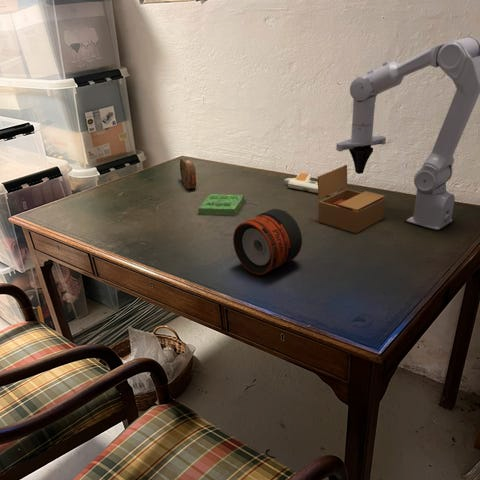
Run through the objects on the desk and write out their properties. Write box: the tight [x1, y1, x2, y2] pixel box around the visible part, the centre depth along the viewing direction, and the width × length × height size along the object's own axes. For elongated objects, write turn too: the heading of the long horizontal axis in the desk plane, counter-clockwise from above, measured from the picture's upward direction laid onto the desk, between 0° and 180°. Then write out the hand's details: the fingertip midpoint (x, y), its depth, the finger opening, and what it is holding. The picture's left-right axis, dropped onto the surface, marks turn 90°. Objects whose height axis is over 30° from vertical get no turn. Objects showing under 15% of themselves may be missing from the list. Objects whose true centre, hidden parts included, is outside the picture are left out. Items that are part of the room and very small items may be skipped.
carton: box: [317, 188, 386, 234], centre depth 141 cm, size 13×13×7 cm
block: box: [333, 199, 352, 210], centre depth 144 cm, size 4×4×4 cm
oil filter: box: [232, 208, 303, 276], centre depth 120 cm, size 13×12×13 cm
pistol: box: [283, 172, 339, 197], centre depth 167 cm, size 2×20×11 cm
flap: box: [317, 164, 348, 200], centre depth 142 cm, size 6×13×1 cm
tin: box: [179, 158, 197, 190], centre depth 175 cm, size 15×3×8 cm, turn 17°
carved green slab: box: [197, 193, 245, 217], centre depth 157 cm, size 11×12×2 cm
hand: (359, 172), depth 147 cm, fingers closed
